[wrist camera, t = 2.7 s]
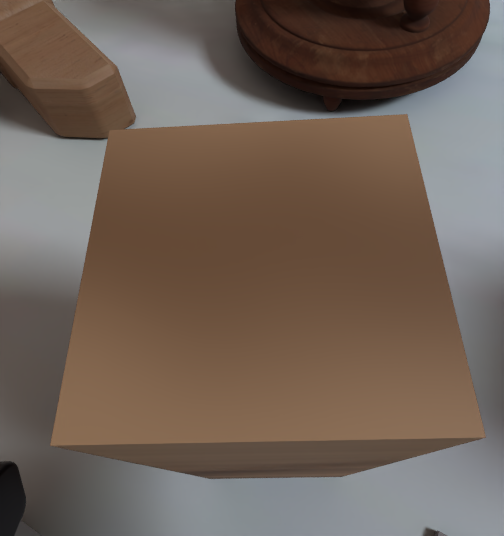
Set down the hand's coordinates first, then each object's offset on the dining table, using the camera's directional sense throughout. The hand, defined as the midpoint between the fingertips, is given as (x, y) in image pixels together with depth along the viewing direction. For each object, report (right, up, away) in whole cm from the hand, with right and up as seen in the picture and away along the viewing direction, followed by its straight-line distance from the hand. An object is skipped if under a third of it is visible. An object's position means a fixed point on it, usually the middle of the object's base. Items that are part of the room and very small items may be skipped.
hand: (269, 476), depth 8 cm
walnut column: (+1, -2, +10) cm, 10 cm away
